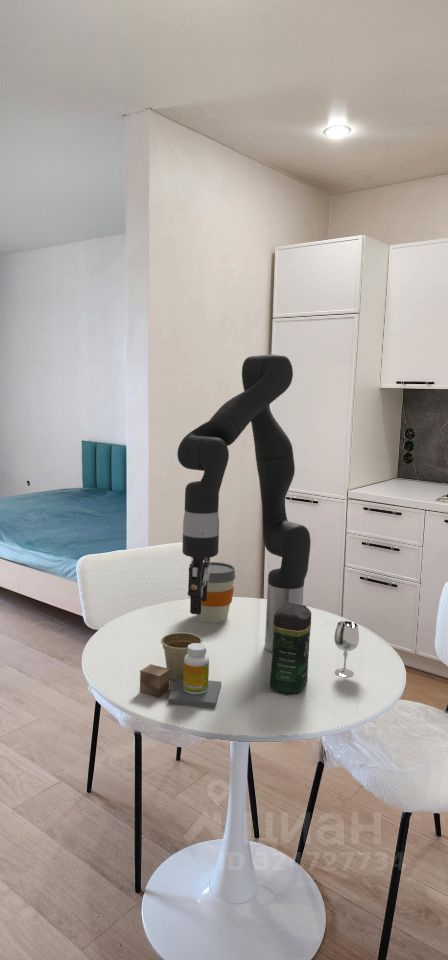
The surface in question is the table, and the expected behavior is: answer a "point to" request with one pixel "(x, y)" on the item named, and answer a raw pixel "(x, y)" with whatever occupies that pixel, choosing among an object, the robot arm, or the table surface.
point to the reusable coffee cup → (218, 593)
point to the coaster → (199, 700)
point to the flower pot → (177, 651)
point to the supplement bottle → (196, 669)
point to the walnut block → (154, 680)
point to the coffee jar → (290, 649)
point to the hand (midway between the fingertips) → (198, 606)
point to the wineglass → (346, 642)
